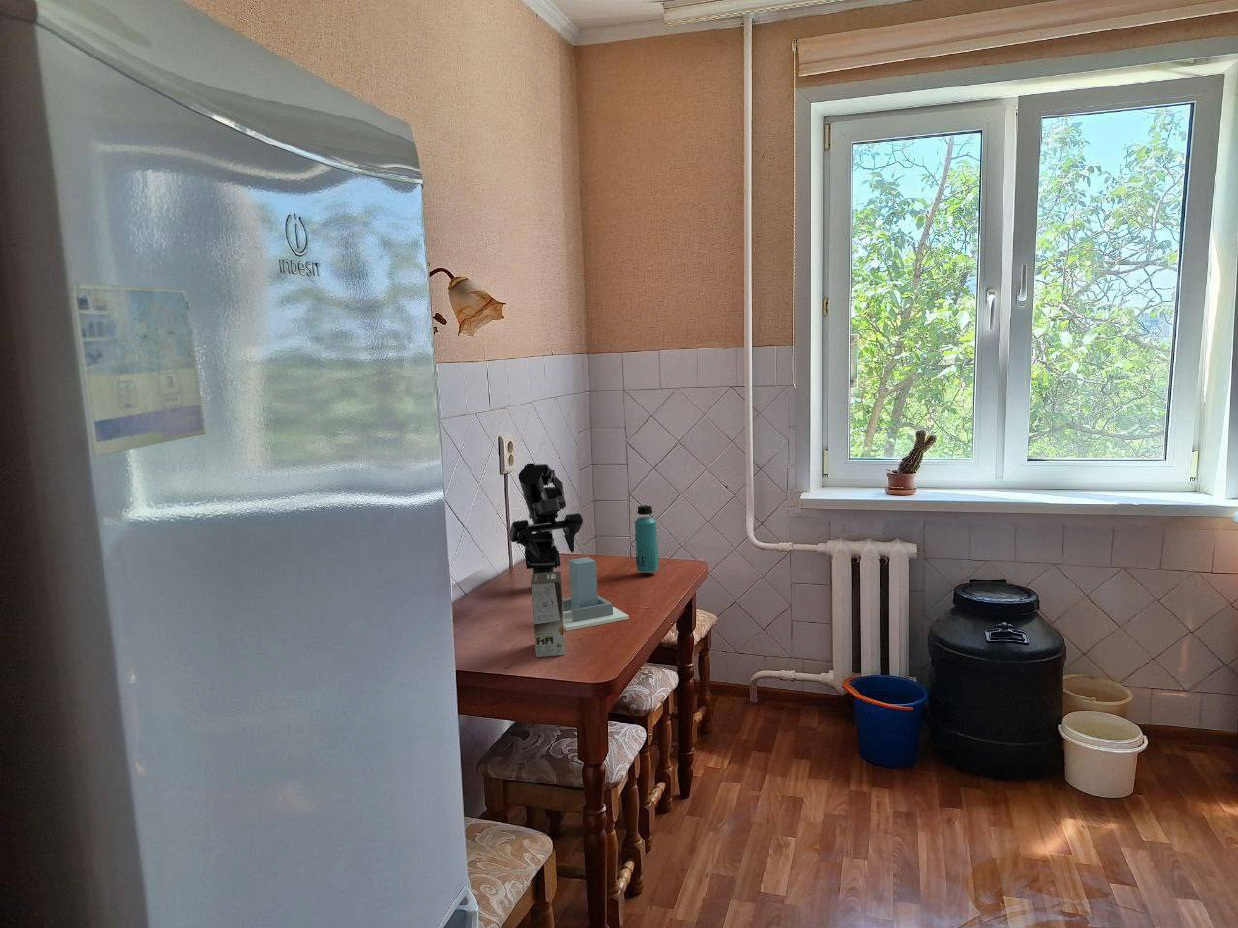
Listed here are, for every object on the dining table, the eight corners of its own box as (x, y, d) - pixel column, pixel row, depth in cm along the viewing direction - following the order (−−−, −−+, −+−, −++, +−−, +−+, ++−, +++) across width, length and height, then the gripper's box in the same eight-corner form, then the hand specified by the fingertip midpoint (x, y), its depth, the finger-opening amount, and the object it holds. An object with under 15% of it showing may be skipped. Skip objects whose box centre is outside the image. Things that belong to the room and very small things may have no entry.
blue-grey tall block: (571, 611, 202) (568, 560, 201) (590, 608, 204) (587, 557, 203) (579, 617, 198) (576, 564, 196) (598, 613, 200) (595, 561, 198)
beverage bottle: (662, 572, 239) (659, 503, 236) (655, 578, 233) (652, 508, 230) (640, 571, 241) (637, 503, 238) (633, 577, 235) (630, 507, 232)
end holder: (542, 613, 205) (542, 599, 205) (601, 602, 212) (601, 589, 211) (566, 630, 191) (565, 616, 190) (628, 618, 197) (628, 604, 197)
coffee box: (565, 655, 175) (561, 581, 173) (535, 657, 174) (530, 583, 172) (564, 641, 184) (560, 570, 182) (536, 643, 183) (531, 572, 181)
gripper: (509, 490, 207) (526, 541, 198) (578, 482, 215) (597, 531, 206) (502, 516, 215) (518, 566, 206) (568, 508, 223) (587, 555, 214)
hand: (555, 554), depth 208 cm, fingers open, 9 cm apart
